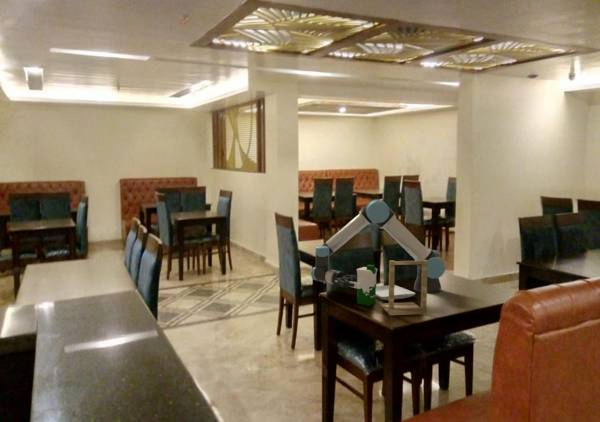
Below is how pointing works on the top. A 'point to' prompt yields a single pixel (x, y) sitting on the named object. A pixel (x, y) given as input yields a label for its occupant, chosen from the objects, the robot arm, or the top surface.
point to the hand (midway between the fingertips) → (368, 283)
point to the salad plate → (399, 292)
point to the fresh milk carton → (367, 285)
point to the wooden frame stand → (406, 307)
